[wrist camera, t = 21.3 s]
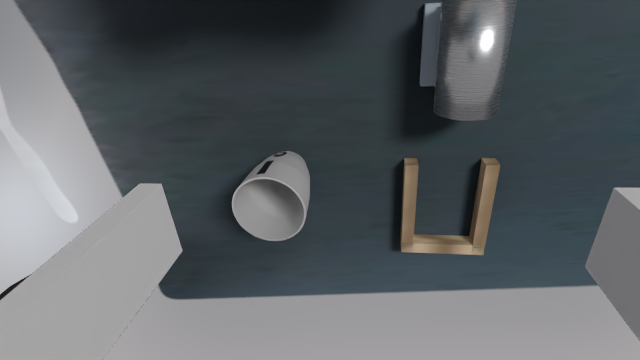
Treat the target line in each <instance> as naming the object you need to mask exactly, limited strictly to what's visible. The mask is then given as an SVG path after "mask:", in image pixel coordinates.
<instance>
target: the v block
mask: <svg viewBox="0 0 640 360" xmlns="http://www.w3.org/2000/svg"><path fill="white" fill-rule="evenodd" d="M441 9H442V3H427V4H424V18H423V34H422V50H421V66H420V82H419V85H420V86H434V87H435V81H436V69H437V57H438V45H439V33H440V21H441Z"/></svg>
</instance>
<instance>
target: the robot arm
mask: <svg viewBox="0 0 640 360" xmlns="http://www.w3.org/2000/svg"><path fill="white" fill-rule="evenodd" d="M181 252H182V248H181V245H180V241H179V238H178V235H177V232H176V229H175V226H174V222H173V219H172V216H171V213H170V210H169V206H168V203H167V200H166V197H165V194H164V191H163V187H162V184H139V185H138V186H136V187H135V188H134V189H133V190H132V191H130V192H129V193H128V194H127V195H126V196H124V197H123V198H122V199H121V200H120V201H118V202H117V203H116V204H115V205H114V206H112V207H111V208H110V209H109V210H108V211H106V212H105V213H104V214H103V215H102V216H101V217H99V218H98V219H97V220H96V221H95V222H93V223H92V224H91V225H90V226H89V227H87V228H86V229H85V230H84V231H83V232H82V233H80V234H79V235H78V236H77V237H75V238H74V239H73V240H72V241H71V242H69V243H68V244H67V245H66V246H65V247H64V248H62V249H61V250H60V251H59V252H57V253H56V254H55V255H54V256H53V257H51V258H50V259H49V260H48V261H47V262H46V263H44V264H43V265H42V266H41V267H40V268H38V269H37V270H36V271H35V272H34V273H32V274H31V275H29V276H27V277H26V278H24V279H22V280H20V281H19V282H17V283H15V284H13V285H12V286H10V287H9V288H8V289H6V290H5V291H4V292H3V293H2V294H0V360H103V359H104V357H105V356H106V355H107V353H108V352H109V351H110V349H111V348H112V347H113V345H114V344H115V342H116V341H117V340H118V338H119V337H120V336H121V334H122V333H123V332H124V330H125V329H126V328H127V326H128V325H129V323H130V322H131V321H132V319H133V318H134V317H135V315H136V314H137V312H138V311H139V310H140V308H141V307H142V306H143V304H144V303H145V302H146V300H147V299H148V297H149V296H150V294H151V293H152V292H153V291H154V289H155V288H156V287H157V285H158V284H159V282H160V281H161V280H162V278H163V277H164V276H165V274H166V273H167V271H168V270H169V269H170V267H171V266H172V265H173V263H174V262H175V261H176V259H177V258H178V256H179V255H180V254H181ZM585 268H586V269H587V271H588V272H589V273H590V275H591V276H592V277H593V279H594V280H595V281H596V283H597V284H598V285H599V287H600V288H601V289H602V291H603V292H604V293H605V295H606V296H607V298H608V299H609V300H610V302H611V303H612V304H613V306H614V307H615V308H616V310H617V311H618V312H619V314H620V315H621V316H622V318H623V319H624V321H625V322H626V323H627V325H628V326H629V327H630V329H631V330H632V331H633V333H634V334H635V335H636V337H637V338H638V339H639V341H640V188H613V191H612V194H611V197H610V199H609V202H608V205H607V208H606V210H605V213H604V216H603V219H602V221H601V224H600V227H599V229H598V232H597V235H596V238H595V240H594V243H593V246H592V249H591V251H590V254H589V257H588V259H587V262H586V265H585Z"/></svg>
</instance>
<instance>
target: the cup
mask: <svg viewBox="0 0 640 360" xmlns="http://www.w3.org/2000/svg"><path fill="white" fill-rule="evenodd" d="M309 198H310V176H309V172H308V169H307V166H306V163H305V161H304V160H303V158H302V157H301V156H299V155H298V154H296V153H294V152H290V151H283V152H279V153H277V154H274V155H272V156H270V157H268V158H266V159H265V160H264V161H263V162H262V163H260V164H259V165H258V166H257V167H255V168H254V169H253V170H252V171H251V172H250V174H249V175H248V176H247V177H246V178H245V180H244V181H243V182H242V183H241V184H240V186H239V187H238V188H237V189H236V191H235V193H234V195H233V198H232V210H233V213H234V216H235V218H236V220H237V221H238V223H239V224H240V225H241V226H242V227H243V228H244V229H245V230H246V231H247V232H249V233H250V234H252V235H253V236H255V237H258V238H260V239H264V240H269V241H280V240H285V239H288V238H291V237H293V236H294V235H296V234H297V233H298V232H299V231H300V230H301V228H302V227H303V225H304V223H305V219H306V214H307V209H308V204H309Z"/></svg>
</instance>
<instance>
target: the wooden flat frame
mask: <svg viewBox="0 0 640 360" xmlns="http://www.w3.org/2000/svg"><path fill="white" fill-rule="evenodd" d="M499 169H500V164H499V163H498V162H497V160H496V159H495V158H482V159H481V166H480V172H479V178H478V184H477V191H476V197H475V203H474V209H473V216H472V222H471V228H470V234H469V236H451V235H417V234H414V223H415V208H416V194H417V179H418V161H417V158H404V173H403V194H402V215H401V236H400V246H401V252H415V253H442V254H470V255H483V254H484V249H485V243H486V238H487V233H488V227H489V222H490V217H491V211H492V206H493V201H494V196H495V190H496V185H497V180H498V174H499Z"/></svg>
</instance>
